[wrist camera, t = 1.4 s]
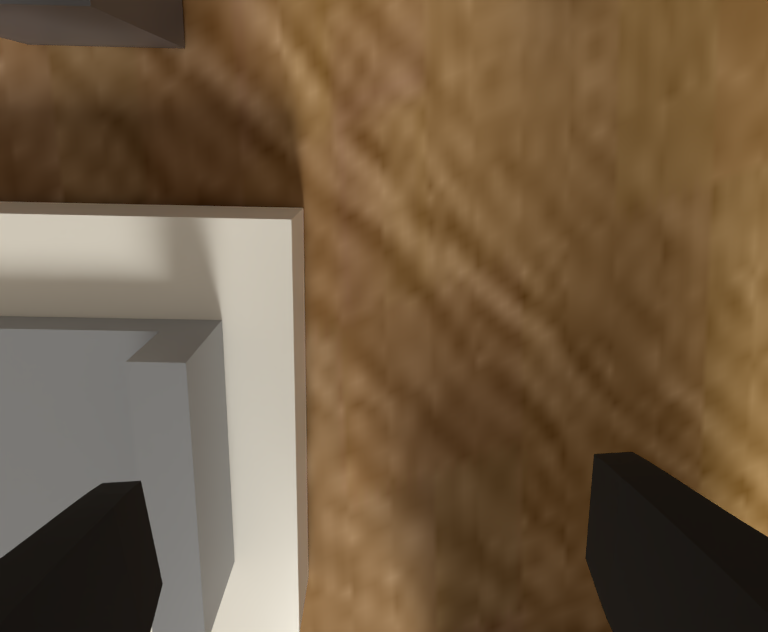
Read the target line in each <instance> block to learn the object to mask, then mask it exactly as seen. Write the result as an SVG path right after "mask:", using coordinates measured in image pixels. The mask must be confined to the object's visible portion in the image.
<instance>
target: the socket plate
mask: <svg viewBox="0 0 768 632" xmlns="http://www.w3.org/2000/svg"><path fill="white" fill-rule="evenodd" d="M0 316H21V317H76V318H131V319H186V320H222V331H223V350H224V370H225V389H226V408H227V427H228V446H229V465H230V484H231V503H232V522H233V541H234V560H235V562H234V565H233V568H232V571H231V574H230V577H229V580H228V583H227V586H226V589H225V592H224V595H223V598H222V601H221V604H220V607H219V610H218V613H217V616H216V619H215V622H214V625H213V628H212V631H211V632H300V627H301V621H302V615H303V608H304V602H305V595H306V589H307V583H308V503H307V430H306V357H305V284H304V211H303V208H287V207H240V206H193V205H145V204H98V203H51V202H4V201H0ZM150 632H152V628H151V631H150Z"/></svg>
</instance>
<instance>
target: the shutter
mask: <svg viewBox="0 0 768 632" xmlns="http://www.w3.org/2000/svg"><path fill="white" fill-rule="evenodd" d="M127 481H141V483H142V488H143V492H144V497H145V502H146V507H147V511H148V516H149V521H150V526H151V530H152V535H153V540H154V545H155V549H156V554H157V559H158V564H159V568H160V573H161V578H162V583H163V585H162V589H161V593H160V597H159V601H158V605H157V609H156V613H155V617H154V621H153V624H152V632H211V631H212V628H213V625H214V622H215V619H216V616H217V613H218V610H219V607H220V604H221V601H222V598H223V595H224V592H225V589H226V586H227V583H228V580H229V577H230V574H231V571H232V568H233V565H234V562H235V560H234V541H233V522H232V503H231V484H230V465H229V446H228V427H227V408H226V389H225V370H224V350H223V331H222V320H186V319H131V318H76V317H21V316H0V558H1V557H3V556H4V555H5V554H7V553H8V552H9V551H11V550H12V549H13V548H15V547H16V546H17V545H19V544H20V543H21V542H23V541H24V540H25V539H27V538H28V537H29V536H31V535H32V534H33V533H35V532H36V531H37V530H39V529H40V528H41V527H43V526H44V525H45V524H46V523H48V522H49V521H50V520H52V519H53V518H54V517H56V516H57V515H58V514H60V513H61V512H62V511H64V510H65V509H66V508H67V507H69V506H70V505H71V504H73V503H74V502H76V501H77V500H78V499H80V498H81V497H82V496H84V495H85V494H87V493H88V492H89V491H91V490H92V489H94V488H95V487H97V486H98V485H100V484H102V483H110V482H127Z"/></svg>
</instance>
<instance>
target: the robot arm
mask: <svg viewBox="0 0 768 632" xmlns="http://www.w3.org/2000/svg"><path fill="white" fill-rule="evenodd" d="M586 561H587V564H588V567H589V570H590V573H591V576H592V578H593V581H594V584H595V587H596V590H597V593H598V596H599V599H600V601H601V604H602V607H603V610H604V613H605V615H606V618H607V620H608V622H609V624H610V627H611V629H612V631H613V632H768V537H767V536H765V535H764V534H762V533H760V532H759V531H757V530H755V529H754V528H752V527H751V526H749V525H747V524H746V523H744V522H742V521H741V520H739V519H738V518H736V517H735V516H733V515H731V514H730V513H728V512H727V511H725V510H723V509H722V508H720V507H719V506H717V505H716V504H714V503H712V502H711V501H709V500H708V499H706V498H705V497H703V496H702V495H700V494H699V493H697V492H695V491H694V490H692V489H691V488H689V487H688V486H686V485H685V484H683V483H682V482H680V481H679V480H677V479H675V478H674V477H672V476H671V475H669V474H668V473H666V472H665V471H663V470H661V469H660V468H658V467H657V466H655V465H654V464H652V463H650V462H649V461H647V460H645V459H644V458H642V457H640V456H638V455H637V454H635V453H633V452H622V453H605V454H594V462H593V474H592V486H591V498H590V510H589V523H588V535H587V547H586ZM162 585H163V583H162V578H161V573H160V568H159V564H158V559H157V554H156V549H155V545H154V540H153V535H152V530H151V526H150V521H149V516H148V511H147V507H146V502H145V497H144V492H143V488H142V483H141V481H127V482H110V483H102V484H100V485H98V486H97V487H95V488H94V489H92V490H91V491H89V492H88V493H87V494H85V495H84V496H82V497H81V498H80V499H78V500H77V501H76V502H74V503H73V504H71V505H70V506H69V507H67V508H66V509H65V510H64V511H62V512H61V513H60V514H58V515H57V516H56V517H54V518H53V519H52V520H50V521H49V522H48V523H46V524H45V525H44V526H43V527H41V528H40V529H39V530H37V531H36V532H35V533H33V534H32V535H31V536H29V537H28V538H27V539H25V540H24V541H23V542H21V543H20V544H19V545H17V546H16V547H15V548H13V549H12V550H11V551H9V552H8V553H7V554H5V555H4V556H3V557H1V558H0V632H150V631H151V628H152V624H153V621H154V617H155V613H156V609H157V605H158V601H159V597H160V593H161V589H162Z"/></svg>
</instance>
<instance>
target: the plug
mask: <svg viewBox="0 0 768 632" xmlns="http://www.w3.org/2000/svg"><path fill="white" fill-rule="evenodd" d="M0 37H1V38H5V39H9V40H13V41H17V42H21V43H25V44H30V45H69V46H109V47H148V48H185V41H184V25H183V9H182V0H0Z"/></svg>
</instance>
